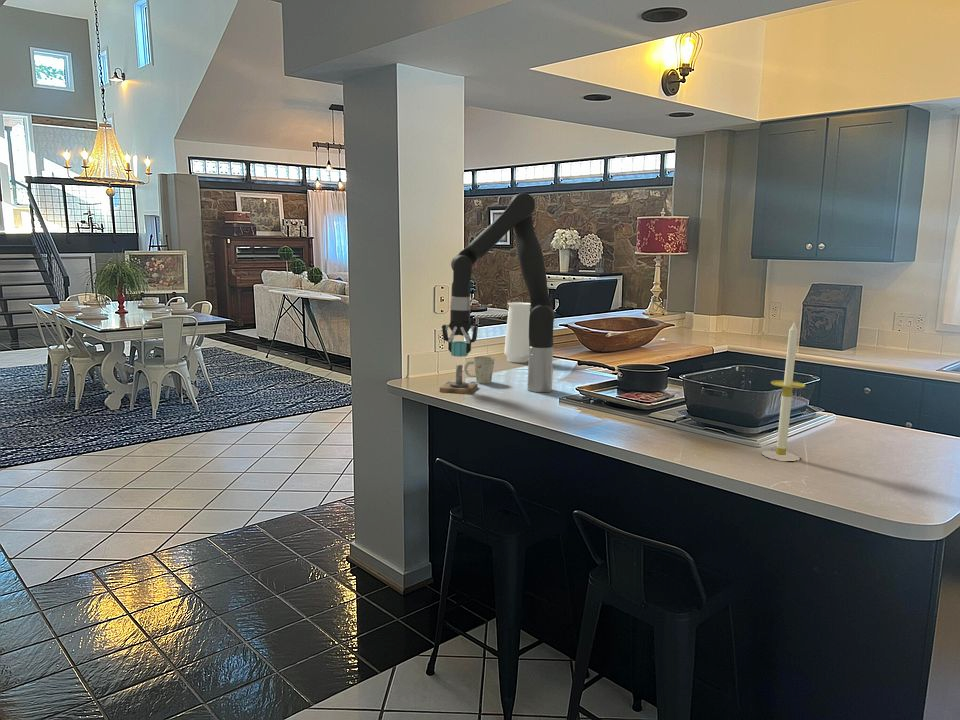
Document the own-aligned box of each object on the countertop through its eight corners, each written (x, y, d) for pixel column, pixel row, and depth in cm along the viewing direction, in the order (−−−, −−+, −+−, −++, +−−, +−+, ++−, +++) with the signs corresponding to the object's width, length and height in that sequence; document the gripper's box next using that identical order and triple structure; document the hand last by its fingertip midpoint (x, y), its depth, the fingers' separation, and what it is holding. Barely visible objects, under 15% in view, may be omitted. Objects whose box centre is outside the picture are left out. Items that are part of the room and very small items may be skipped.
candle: (771, 448, 191) (784, 317, 185) (807, 457, 184) (821, 320, 177) (754, 455, 184) (767, 319, 178) (790, 464, 177) (805, 323, 171)
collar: (468, 354, 259) (469, 341, 258) (465, 357, 253) (465, 343, 252) (453, 353, 260) (454, 340, 260) (449, 356, 255) (450, 342, 254)
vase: (518, 357, 335) (520, 301, 330) (536, 361, 325) (538, 303, 321) (498, 360, 327) (500, 302, 322) (516, 364, 317) (518, 304, 312)
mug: (491, 384, 269) (492, 360, 268) (461, 382, 272) (461, 358, 270) (495, 380, 277) (496, 356, 276) (465, 378, 280) (466, 355, 278)
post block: (477, 387, 264) (478, 363, 262) (470, 393, 252) (470, 369, 250) (447, 385, 266) (448, 361, 265) (439, 391, 255) (439, 367, 253)
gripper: (481, 308, 256) (480, 352, 259) (444, 306, 259) (444, 349, 262) (476, 310, 249) (475, 355, 252) (439, 308, 252) (438, 352, 255)
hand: (459, 352), depth 257 cm, fingers closed on collar, 6 cm apart
